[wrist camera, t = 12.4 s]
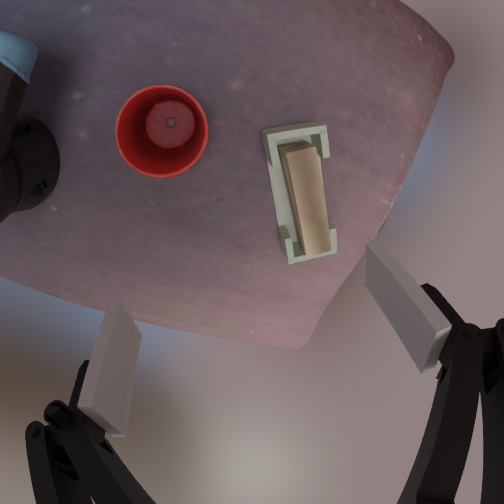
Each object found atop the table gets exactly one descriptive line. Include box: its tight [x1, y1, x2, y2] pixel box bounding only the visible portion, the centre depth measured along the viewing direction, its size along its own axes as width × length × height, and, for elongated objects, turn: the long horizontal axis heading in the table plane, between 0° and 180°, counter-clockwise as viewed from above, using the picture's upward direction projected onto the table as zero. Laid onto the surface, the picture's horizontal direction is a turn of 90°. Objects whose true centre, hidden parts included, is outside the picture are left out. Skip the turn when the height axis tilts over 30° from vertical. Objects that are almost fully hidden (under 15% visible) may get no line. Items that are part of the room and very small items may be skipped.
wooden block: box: [277, 139, 332, 258], centre depth 42 cm, size 4×16×6 cm, turn 14°
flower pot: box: [115, 84, 209, 178], centre depth 33 cm, size 11×11×10 cm
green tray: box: [261, 121, 337, 264], centre depth 43 cm, size 8×20×5 cm, turn 11°
